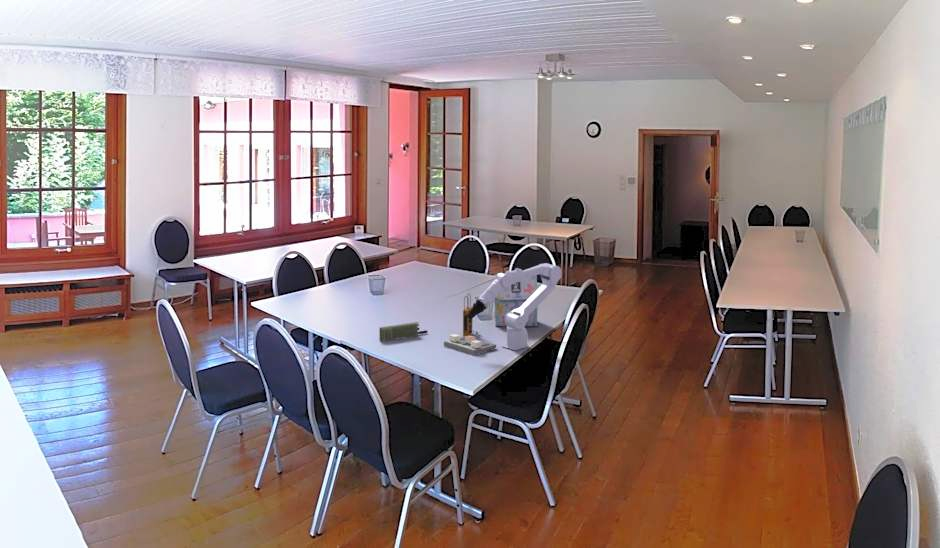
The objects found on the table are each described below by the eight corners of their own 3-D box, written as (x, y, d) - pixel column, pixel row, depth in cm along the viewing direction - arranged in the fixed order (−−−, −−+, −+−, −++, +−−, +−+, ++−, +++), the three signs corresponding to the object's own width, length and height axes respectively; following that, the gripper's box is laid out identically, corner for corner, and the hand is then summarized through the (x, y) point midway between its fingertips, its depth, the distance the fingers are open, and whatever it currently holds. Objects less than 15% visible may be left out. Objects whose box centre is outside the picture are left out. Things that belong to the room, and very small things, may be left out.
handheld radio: (378, 340, 357) (425, 333, 370) (381, 342, 355) (428, 335, 367) (378, 326, 356) (425, 320, 369) (381, 328, 353) (428, 321, 366)
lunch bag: (493, 328, 379) (493, 276, 374) (493, 319, 396) (494, 270, 391) (537, 329, 379) (539, 277, 374) (536, 320, 395) (537, 270, 390)
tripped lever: (469, 341, 348) (469, 335, 347) (474, 342, 345) (475, 336, 345) (464, 342, 346) (464, 336, 345) (470, 343, 343) (470, 337, 343)
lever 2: (475, 345, 341) (475, 340, 340) (481, 347, 338) (481, 341, 338) (470, 346, 339) (470, 341, 338) (476, 348, 336) (476, 343, 336)
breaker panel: (465, 340, 358) (465, 335, 357) (496, 348, 344) (496, 344, 343) (443, 345, 348) (443, 341, 348) (474, 355, 334) (474, 350, 334)
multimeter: (480, 340, 358) (481, 299, 354) (460, 338, 360) (460, 297, 357) (488, 332, 372) (489, 292, 368) (469, 330, 374) (469, 291, 370)
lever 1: (454, 339, 351) (454, 334, 350) (459, 340, 348) (459, 335, 348) (449, 340, 349) (449, 335, 348) (454, 342, 346) (454, 336, 346)
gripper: (481, 291, 342) (461, 312, 339) (486, 286, 328) (465, 308, 325) (492, 301, 342) (472, 323, 339) (498, 297, 328) (477, 319, 325)
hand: (469, 317), depth 332 cm, fingers open, 7 cm apart
